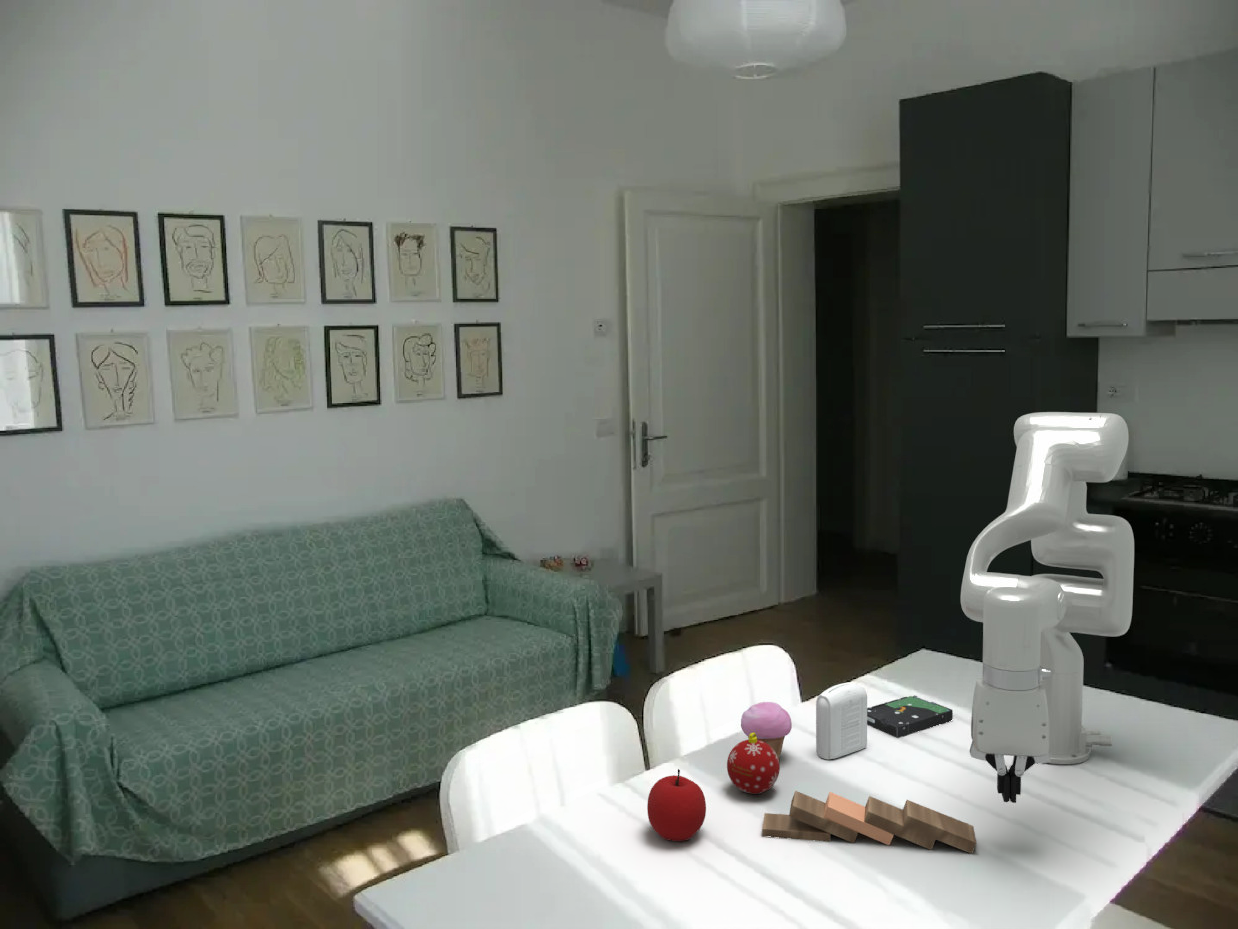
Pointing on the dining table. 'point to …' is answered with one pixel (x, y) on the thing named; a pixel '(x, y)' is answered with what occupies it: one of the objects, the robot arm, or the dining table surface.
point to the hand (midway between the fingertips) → (1008, 798)
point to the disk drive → (907, 716)
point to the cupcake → (767, 724)
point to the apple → (676, 808)
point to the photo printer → (841, 720)
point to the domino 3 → (853, 817)
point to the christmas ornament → (753, 766)
